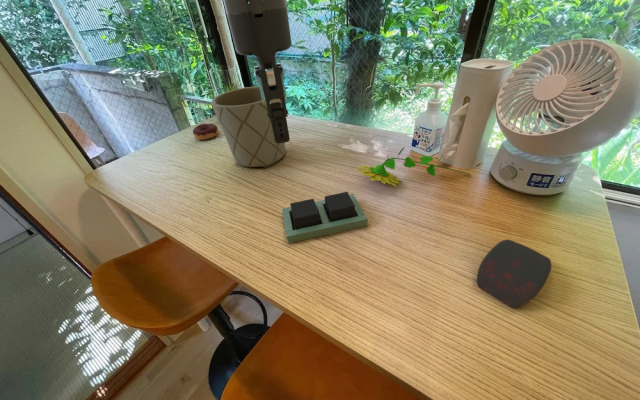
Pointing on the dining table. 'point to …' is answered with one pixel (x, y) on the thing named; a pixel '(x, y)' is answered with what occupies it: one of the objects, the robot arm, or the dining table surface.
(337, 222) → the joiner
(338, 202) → the black near-cubic block
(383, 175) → the flower
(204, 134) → the donut
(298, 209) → the black block
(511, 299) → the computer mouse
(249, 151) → the planter
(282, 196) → the dining table surface
